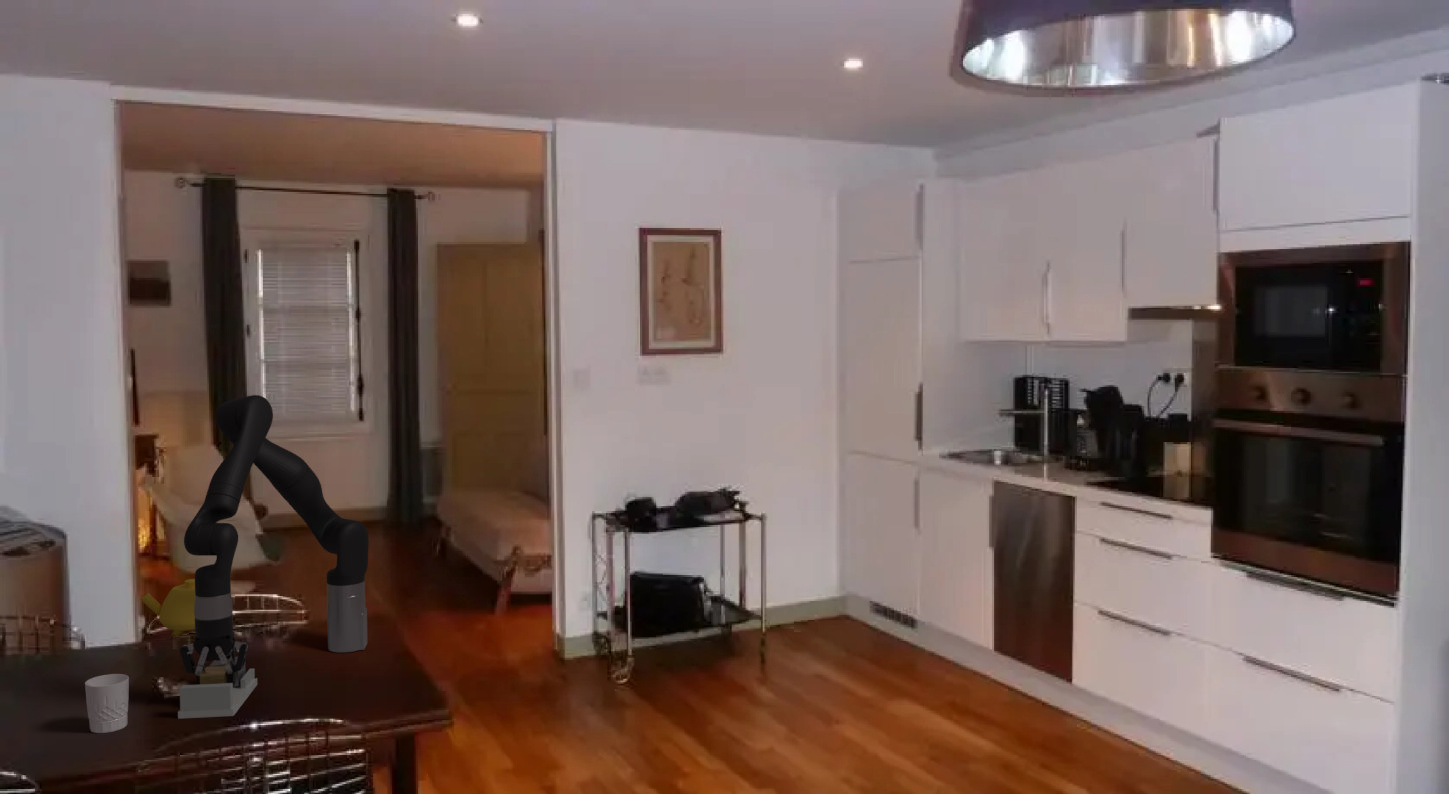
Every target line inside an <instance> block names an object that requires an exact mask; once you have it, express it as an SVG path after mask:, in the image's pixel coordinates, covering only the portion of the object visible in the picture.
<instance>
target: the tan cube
mask: <svg viewBox="0 0 1449 794" xmlns="http://www.w3.org/2000/svg"><path fill="white" fill-rule="evenodd" d="M226 675H227V672H226V669H225V667H224V666H214V667H210V666H205V669H204V670H203V671H202V672H201V673H200V685H201V684H223V683H227V679H226Z"/></svg>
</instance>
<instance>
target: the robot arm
mask: <svg viewBox="0 0 1449 794" xmlns="http://www.w3.org/2000/svg"><path fill="white" fill-rule="evenodd" d="M273 412H274V411H273V408H272V405H271V403H270V402H269V400H268V399H267V398H265V397H264V396H262V395H258V394H257V395H256V394H253V395H247V396H243V397H238V398H235V399H231V400H227V401H225V402H223V403H221V404H220V405H219V406H217V408H216V410H215V421H216V424H217V427H218V429H219V430H220V432H221V433H222V435H224V436H225V438H226V439H228V441H230V442H231V443H232V444H233V446H232V448H231V450H230V451H229V453H228V454H227V455H226V457H225V458H224V459H223V460H222V462H221V463H220V465H218V467H217V469H216V470H215V471H214V473H213V475H212V477H211V479H210V481H209V485H208V488H207V491H206V494H205V498H204V501H203V503H202V505H201V506H200V508H199V509H198V511H197V513H196V515H195V516H194V517H193V519H192V520H191V521H190V523H189V525H188V527H187V529H186V530H185V533H184V537H183V547H184V548H185V550H186V552H187V553H188V554H189V555H192V556H198V557H199V556H203V557H204V556H205V557H207V556H209V557H210V556H211V557H212V556H216V559H215V562H214V563H212V564H208V565H204V566H201V567H198V568H197V569H196V570H195V572H194V579H195V603H194V616H195V630H194V634H195V635H194V637H195V639H194V641H193V643H190V644H189V643H185V644H183V645H182V646H181V647H180V648H179V653H180V655H181V659H182V661H183V662H182V663H183V665H184V667H185V668H184V669H185V671H186V673H187V674H193V675H195V679H196V680H195V685H200V673H201V672H202V671H203V670H204V669H205V668H206V667H207V664H208V662H211V661H214V660H217V661H219V660H221V663H222V665H223V666H224V667H225V669H226V672H227V675H226V679H227V683H233V687H234V686H235V672H236V671H240V670H241V669H242V668H243V666H244V663H245V664H246V658H247V655H248V649H249V646H250V643H249V641H247V640H246V641H244V642H241V641H236V638H235V635H234V636H233V631H234V615H233V614H234V613H233V598H232V592H231V591H232V589H231V587H232V585H231V573H232V567H233V561H234V557H235V554H236V551H237V547H238V543H239V534H238V531H237V528H236V527H235V526H234V525H233V524H231V523H228V522H220V521H223V520H228V519H231V518H233V517H235V516H236V515H237V512H238V511H239V507H240V503H241V499H242V496H243V492H244V488H245V485H246V482H247V479H248V476H249V474H250V471H251V469H252V467H253V465H255V467H256V468H257V469H258V470H259V471H260V473H262V475H264V476H265V477H266V479H267V480H268V481H269V483H270V484H271V485H272V487H273V488H274V489H275V490H276V491H277V492H278V493H279V494H280V496H281V497H282V498H283V499H284V500H285V501H286V503H288V505H289V506H290V507H291V508H292V510H294V512H295V513H296V514H297V515H298V516H300V518H301V519H302V520H303V521H304V522H305V524H306V525H307V526H308V529H309V530H310V532H311V533H312V534H313V536H314V537H315V539H316V540H317V542H318V544H319V545H320V546H321V547H322V548H323V550H325V551H326V552H328V553H330V554H334V555H336V566H335V567H334V568H332V569H329V570H328V572H327V573H326V604H327V605H326V606H327V607H326V610H327V611H326V613H327V614H326V615H327V649H328V651H330V652H332V653H352V652H356V651H362V650H363V651H365V649H366V647H367V645H368V608H367V607H366V581H365V579H366V573H367V570H368V567H369V550H370V549H369V544H370V543H369V542H370V541H369V539H370V538H369V537H370V536H369V534H368V529H367V527H366V526H365V524H364V523H363V522H361V521H359V520H355V519H348V518H345V517H344V518H343V517H341V516H340V515H338V513H336V512H335V510H333V509H332V507H331V506H330V505H329V504H328V502H327V501H326V500H325V498H324V495H323V488H322V484H321V481H320V479H319V477H318V476H317V474H316V473H315V472H314V471H313V470H312V468H311V467H310V466H309V464H308V463H307V462H306V461H305V460H304V459H303V458H302V457H301V456H299V455H297V454H296V453H294V452H292V451H290V450H288V449H286V448H284V447H281V446H280V445H278V444H276V443H275V442H272V441H271V440H269V438H266V437H267V435H268V433H269V431H270V430H271V427H272V424H273V420H274V418H273V417H274V413H273ZM233 647H235V651H236V653H238V655H237V656H238V659H237V663H236V665H234V663H233V660H232V656H231V654H230V651H231V650H232V649H233ZM194 650H195V651H196V653H198V654H199V660H198V662H197V665H196V664H195V660H194V657H193V653H194Z"/></svg>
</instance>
